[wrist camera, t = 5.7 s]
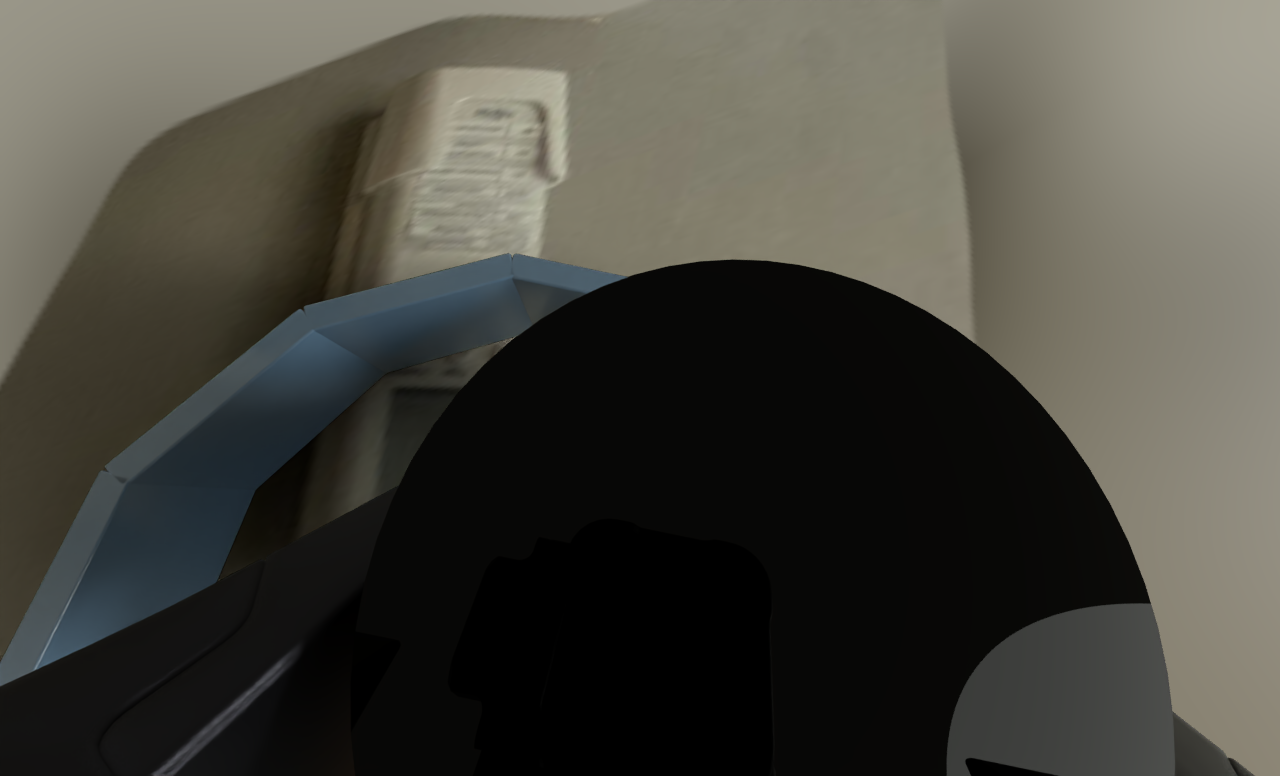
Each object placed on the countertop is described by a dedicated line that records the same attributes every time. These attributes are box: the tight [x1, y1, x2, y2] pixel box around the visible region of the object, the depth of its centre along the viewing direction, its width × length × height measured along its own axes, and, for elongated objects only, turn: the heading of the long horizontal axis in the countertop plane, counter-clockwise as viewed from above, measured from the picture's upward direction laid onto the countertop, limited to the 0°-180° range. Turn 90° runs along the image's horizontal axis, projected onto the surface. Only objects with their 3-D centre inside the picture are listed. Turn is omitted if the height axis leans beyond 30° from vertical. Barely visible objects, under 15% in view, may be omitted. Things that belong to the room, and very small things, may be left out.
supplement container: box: [350, 260, 1175, 776], centre depth 9 cm, size 7×7×10 cm
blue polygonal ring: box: [0, 253, 627, 686], centre depth 12 cm, size 22×22×4 cm
